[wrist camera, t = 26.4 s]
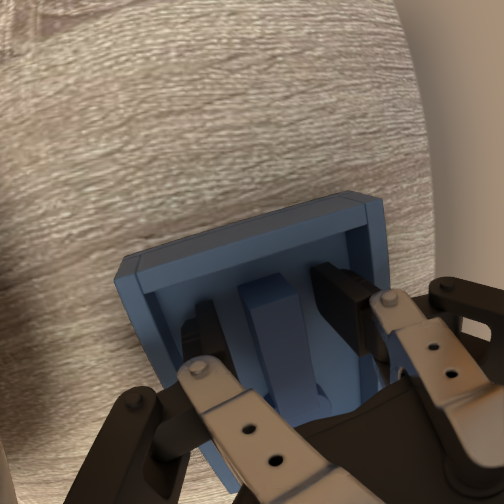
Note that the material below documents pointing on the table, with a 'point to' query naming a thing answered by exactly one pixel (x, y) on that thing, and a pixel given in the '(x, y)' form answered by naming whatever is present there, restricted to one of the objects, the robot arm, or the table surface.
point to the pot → (6, 481)
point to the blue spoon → (283, 349)
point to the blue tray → (252, 268)
